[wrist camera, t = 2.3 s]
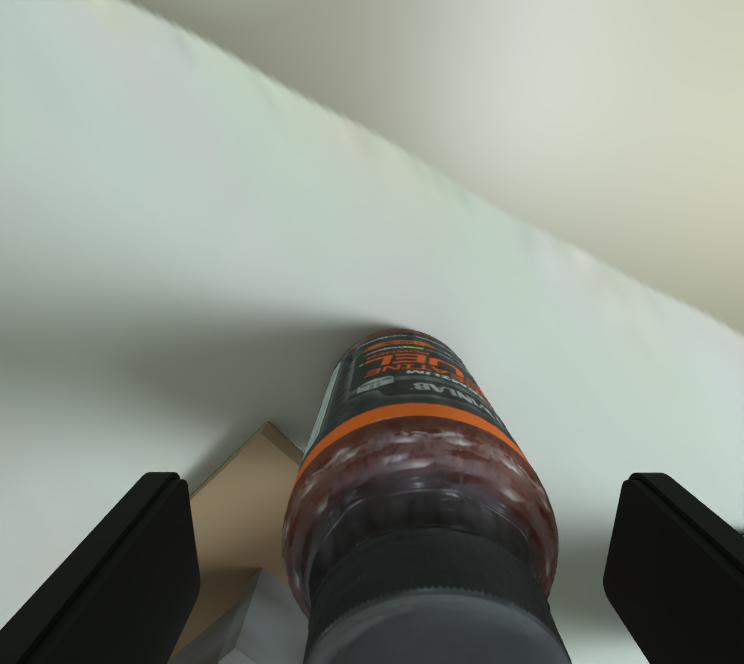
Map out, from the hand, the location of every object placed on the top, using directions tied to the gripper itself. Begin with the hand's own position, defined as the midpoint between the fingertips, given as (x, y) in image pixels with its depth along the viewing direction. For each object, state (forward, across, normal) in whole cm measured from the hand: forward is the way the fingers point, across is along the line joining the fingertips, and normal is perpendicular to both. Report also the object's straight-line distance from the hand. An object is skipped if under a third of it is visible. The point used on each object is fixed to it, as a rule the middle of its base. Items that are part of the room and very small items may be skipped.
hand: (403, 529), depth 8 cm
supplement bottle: (+8, 0, 0) cm, 8 cm away
